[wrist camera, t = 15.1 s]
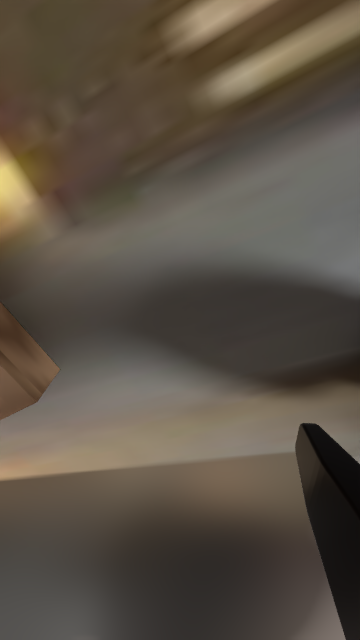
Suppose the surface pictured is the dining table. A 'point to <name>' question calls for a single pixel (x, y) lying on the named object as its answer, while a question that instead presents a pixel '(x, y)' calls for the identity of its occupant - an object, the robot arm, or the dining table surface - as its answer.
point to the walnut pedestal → (21, 367)
